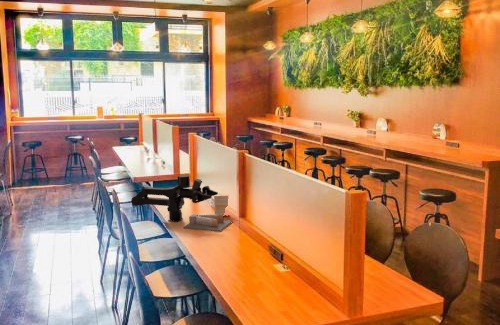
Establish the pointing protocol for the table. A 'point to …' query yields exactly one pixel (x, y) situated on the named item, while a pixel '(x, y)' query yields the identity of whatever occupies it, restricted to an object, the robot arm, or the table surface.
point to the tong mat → (196, 226)
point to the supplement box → (220, 203)
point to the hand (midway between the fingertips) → (214, 195)
